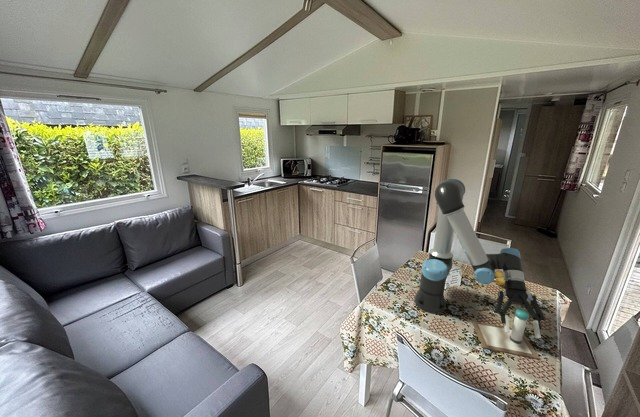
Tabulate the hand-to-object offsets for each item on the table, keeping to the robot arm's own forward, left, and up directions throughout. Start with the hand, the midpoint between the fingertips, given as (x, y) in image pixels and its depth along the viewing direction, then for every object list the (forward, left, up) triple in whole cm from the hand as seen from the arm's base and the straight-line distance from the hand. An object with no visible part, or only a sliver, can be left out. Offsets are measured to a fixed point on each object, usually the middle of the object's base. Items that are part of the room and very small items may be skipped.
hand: (522, 335), depth 105 cm
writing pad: (-5, +3, -6) cm, 9 cm away
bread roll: (+14, +51, -7) cm, 53 cm away
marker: (0, +3, -5) cm, 6 cm away
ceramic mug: (+14, +36, -7) cm, 39 cm away
